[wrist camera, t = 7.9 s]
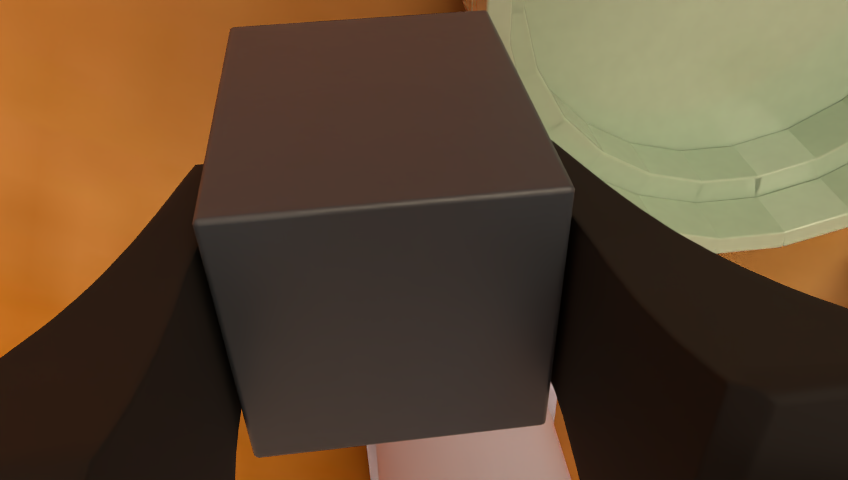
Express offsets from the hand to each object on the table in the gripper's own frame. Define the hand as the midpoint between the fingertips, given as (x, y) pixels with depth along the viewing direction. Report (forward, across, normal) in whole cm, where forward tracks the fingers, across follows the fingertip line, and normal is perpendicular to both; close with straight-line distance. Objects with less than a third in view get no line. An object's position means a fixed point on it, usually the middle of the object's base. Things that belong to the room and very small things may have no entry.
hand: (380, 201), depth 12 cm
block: (+2, 0, 0) cm, 2 cm away
